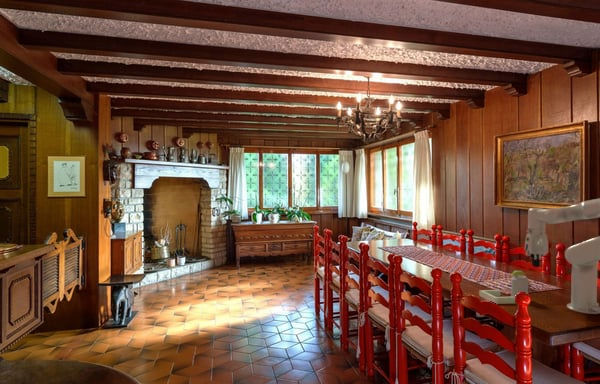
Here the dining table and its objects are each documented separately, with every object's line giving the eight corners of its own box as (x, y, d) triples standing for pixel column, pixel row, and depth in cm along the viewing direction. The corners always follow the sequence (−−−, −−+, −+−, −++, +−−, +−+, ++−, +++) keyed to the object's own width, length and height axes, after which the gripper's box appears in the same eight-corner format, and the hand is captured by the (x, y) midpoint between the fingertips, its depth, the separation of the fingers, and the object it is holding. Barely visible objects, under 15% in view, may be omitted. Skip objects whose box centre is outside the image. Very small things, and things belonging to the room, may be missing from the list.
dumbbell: (529, 289, 203) (529, 277, 203) (513, 287, 206) (513, 275, 206) (525, 282, 217) (525, 270, 217) (510, 281, 221) (510, 269, 221)
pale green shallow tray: (515, 303, 178) (515, 297, 178) (494, 303, 177) (494, 297, 177) (498, 295, 191) (498, 289, 191) (479, 295, 190) (479, 290, 190)
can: (512, 295, 190) (512, 273, 190) (528, 298, 186) (529, 275, 186) (509, 299, 185) (510, 276, 184) (526, 302, 180) (527, 278, 180)
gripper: (528, 232, 181) (527, 268, 181) (555, 232, 182) (554, 268, 183) (517, 230, 189) (517, 265, 189) (544, 230, 190) (543, 264, 190)
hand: (535, 266), depth 186 cm, fingers closed
